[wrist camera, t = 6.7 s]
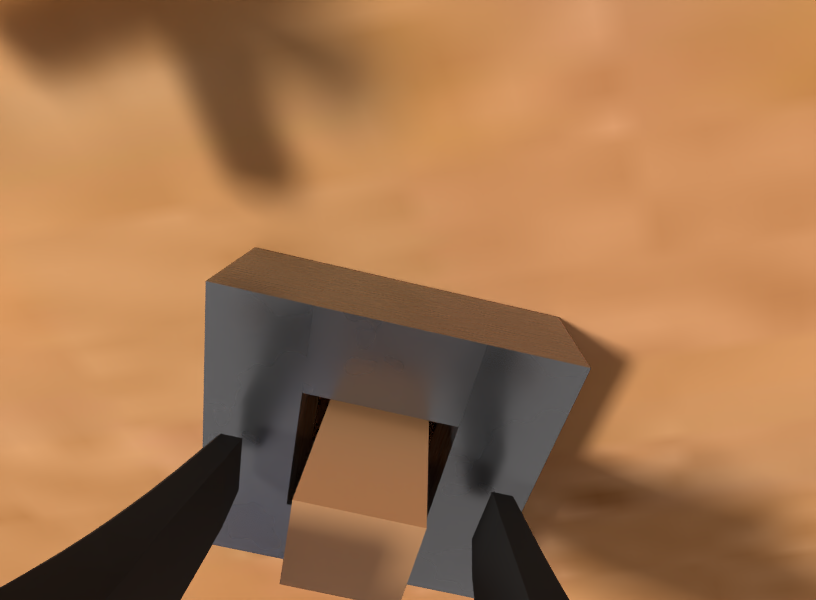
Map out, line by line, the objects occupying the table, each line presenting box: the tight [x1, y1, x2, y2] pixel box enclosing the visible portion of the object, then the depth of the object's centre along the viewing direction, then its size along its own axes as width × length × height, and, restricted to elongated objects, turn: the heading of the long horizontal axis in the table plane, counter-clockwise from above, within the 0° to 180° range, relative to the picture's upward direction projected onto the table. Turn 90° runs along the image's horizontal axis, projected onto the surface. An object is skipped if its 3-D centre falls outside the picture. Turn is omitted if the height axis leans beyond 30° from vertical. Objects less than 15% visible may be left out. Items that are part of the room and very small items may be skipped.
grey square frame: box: [203, 248, 591, 598], centre depth 14 cm, size 10×10×3 cm
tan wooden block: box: [280, 399, 429, 600], centre depth 12 cm, size 3×3×6 cm
